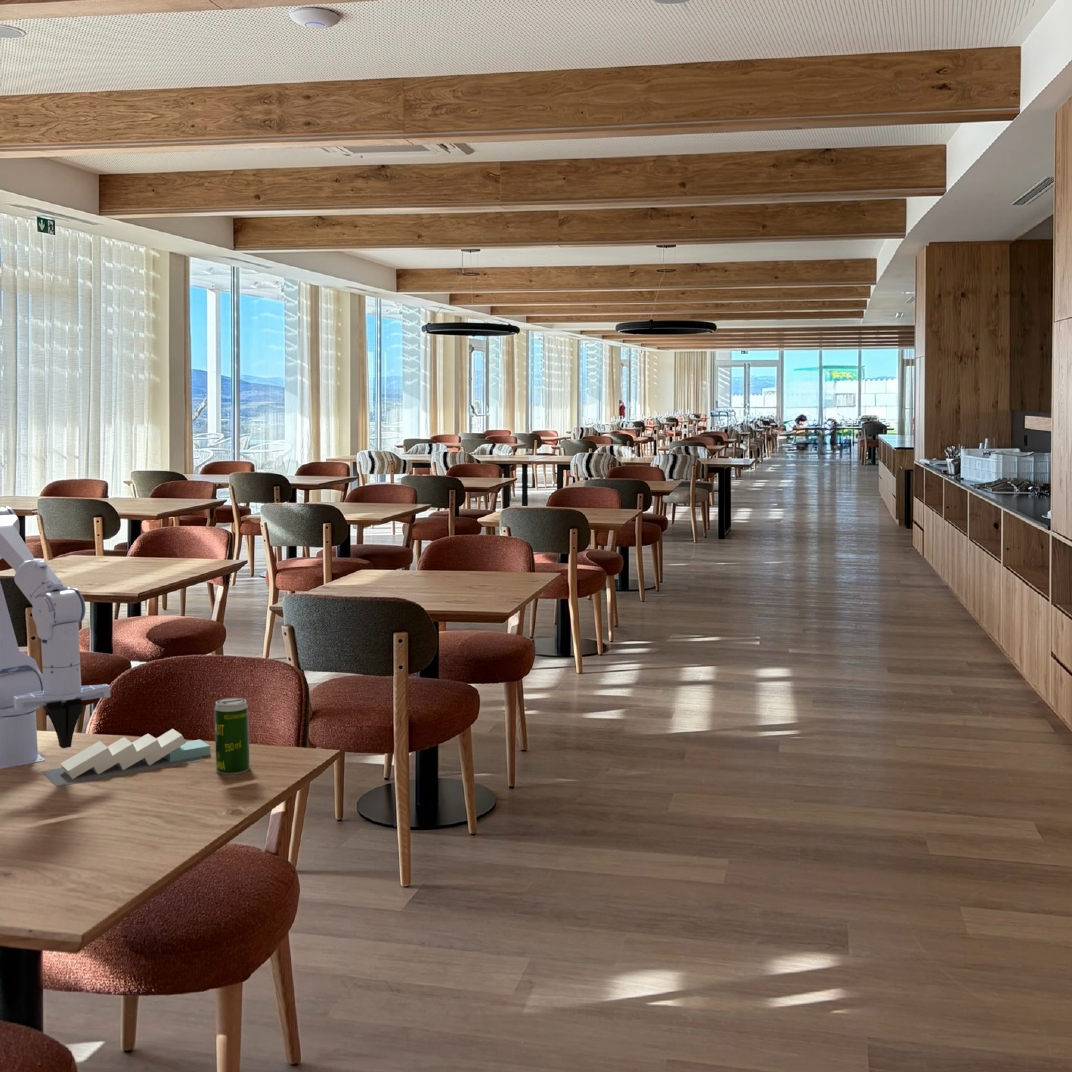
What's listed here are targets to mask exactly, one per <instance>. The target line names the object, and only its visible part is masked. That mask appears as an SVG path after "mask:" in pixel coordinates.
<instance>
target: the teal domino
mask: <svg viewBox="0 0 1072 1072" xmlns="http://www.w3.org/2000/svg"><path fill="white" fill-rule="evenodd" d="M210 755H211V745H209V743H206V742H205V741H203V740H202V739H196V740H195V739H194V740H189V741H186V743H185V744H183V745H182V746H180V747H178V748H177V749H175V750H174V751H172V752H170V753H169V754H167V755H166V756H164V758H165V759H167V760H168V761H170V762H173V761H178V760H184V759H190V758H195V757H200V758H202V757H205V756H210Z"/></svg>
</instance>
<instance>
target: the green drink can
mask: <svg viewBox="0 0 1072 1072" xmlns="http://www.w3.org/2000/svg"><path fill="white" fill-rule="evenodd" d="M249 728H250V727H249V706H248V703H247V700H246V698H243V697H240V698H239V697H229V698H228V697H227V698H223V699H222V698H221V699H219V700H216V701H215V707H214V734H215V735H214V736H215V737H214V738H215V740H214V741H215V766H216V767H215V768H216V769H215V770H216V772H217V773H218V774H221V775H238V774H242V773H243V774H244V773H245V772H248V771H249V770H250V768H251V765H250V763H251V762H250V758H251V757H250V731H249Z"/></svg>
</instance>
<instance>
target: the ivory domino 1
mask: <svg viewBox="0 0 1072 1072" xmlns="http://www.w3.org/2000/svg"><path fill="white" fill-rule="evenodd" d="M111 756H112V754H111V752H110V750H109V748H108V746H106V744H104V743H103V742H102V741H100V740H98V741H97V742H95V743H94V744H91V745H90V746H88V747H86V748H85V749H83V750H81V751H79V752H78V753H76V754H75V755H73V756H71V757H70V758H68V759H66V760H64V761H62V762H60V766H61V768H63V769H64V771H65V772H66V773H67V774H68V775H69V776H70V777H71V778H72V779H74V778H75V777H77V776H79V775H80V774H82V773H84V772H86V771H87V770H89V769H91V768H92V767H94V766H96V765H97V764H99V763H101V762H102V761H104V760H106V759H108V758H109V757H111Z"/></svg>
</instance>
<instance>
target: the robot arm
mask: <svg viewBox="0 0 1072 1072" xmlns="http://www.w3.org/2000/svg"><path fill="white" fill-rule="evenodd" d="M2 559H3V560H4V561H5V562H6V563H7V564H8V566H10V567H11V568H12V570H13V571H15V574H14V580H13V581H14V583H15V585H16V586H17V588H19V590H20V591H21V592H22V594H23V595H24V596H25V597H26V599H27V600H28V601H29V603H30V604H31V606H32V608H31V615H32V618H33V619H32V620H33V622H34V624H35V627H36V634H37V637H38V638H39V639H40V646H41V647H40V648H41V665H42V668H41V669H42V672H41V670H40V669H39V666H38V663H37V661H36V659H35V658H33V657H31V656H30V655H27V654H26V653H24V652H22V651H20V648H19V644H18V641H17V637H16V634H15V630H14V626H13V623H12V619H11V616H10V612H9V608H8V605H7V602H6V597H5V594H4V590H3V587H2V586H3V585H2V584H1V583H2V582H1V581H0V769H6V768H10V767H12V768H13V767H17V766H22V765H23V766H24V765H30V764H34V763H35V764H37V763H41V762H46V760H45V758H44V757H43V756H42V755H41V754H40V753H39V751H38V750H39V748H38V731H37V712H36V711H37V709H40V708H41V707H43V709H44V710H45V712H46V715H48V717H49V720H50V721H51V724H52V726H53V728H54V730H55V733H56V737H57V741H58V746H59V747H60V748H61V749H67V748H71V747H72V743H73V737H74V733H75V729H76V727H77V726H76V725H77V723H78V720H79V719H80V716H81V714H82V712H83V710H84V703H83V701H87V700H94V699H100V698H103V699H108V698H109V699H110V698H111V686H110V685H109V684H107V683H103V684H93V685H91V684H90V685H82V674H81V652H80V651H81V650H80V631H79V629H80V628H79V626H80V625H79V624H80V623H81V622H83V620H84V618H85V616H86V609H87V607H86V602H85V598H84V596H83V595H82V593H81V591H80V590H79V589H78V588H76V587H70V586H69V585H64V584H63V582H62V581H61V579H60V578H59V577H58V576H57V575H56V573H55V572H54V571H53V569H52V568H51V566H49V564H48V563H47V562H46V561H45V560H42V559H35V557H34V555H33V554H32V552H31V551H30V549H29V548H28V546H27V544H26V543H25V541H24V540H23V538H22V536H21V535H20V520H19V517H18V516H17V514H16V512H15V511H14V510H13V509H12V507H10V506H7V505H6V506H2V507H0V560H2Z"/></svg>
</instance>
